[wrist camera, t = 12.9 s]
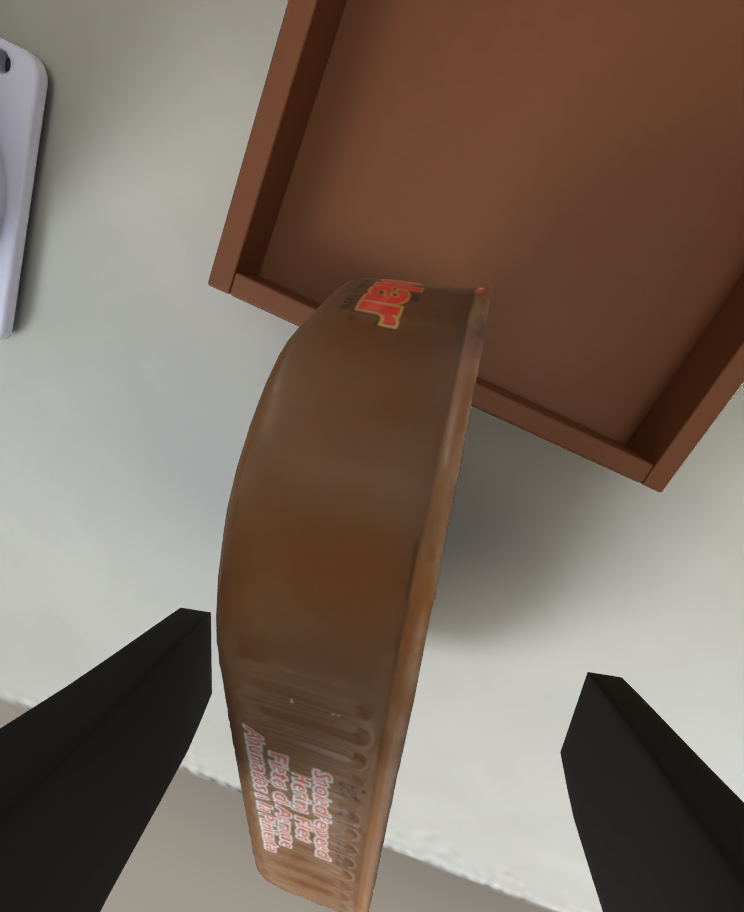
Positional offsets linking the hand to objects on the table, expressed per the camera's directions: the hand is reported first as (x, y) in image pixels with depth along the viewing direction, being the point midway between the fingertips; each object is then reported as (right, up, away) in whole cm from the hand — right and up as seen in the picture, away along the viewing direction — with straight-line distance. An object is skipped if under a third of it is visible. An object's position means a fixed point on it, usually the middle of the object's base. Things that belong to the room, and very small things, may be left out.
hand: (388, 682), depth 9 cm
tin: (0, +3, +6) cm, 6 cm away
